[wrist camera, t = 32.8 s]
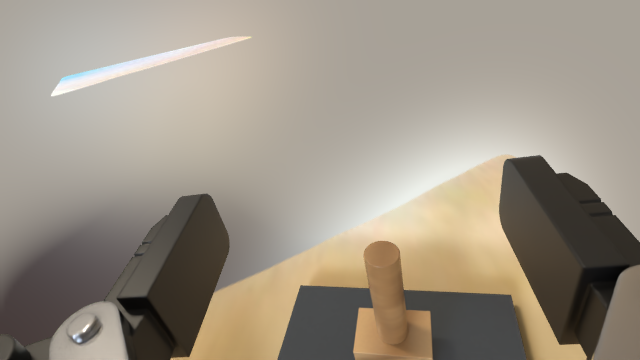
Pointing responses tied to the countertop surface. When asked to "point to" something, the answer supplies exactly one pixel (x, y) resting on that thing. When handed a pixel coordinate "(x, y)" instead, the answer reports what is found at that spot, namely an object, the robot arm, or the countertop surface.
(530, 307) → the countertop surface
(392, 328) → the brush
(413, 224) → the countertop surface
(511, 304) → the slate board
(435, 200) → the countertop surface
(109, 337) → the robot arm
